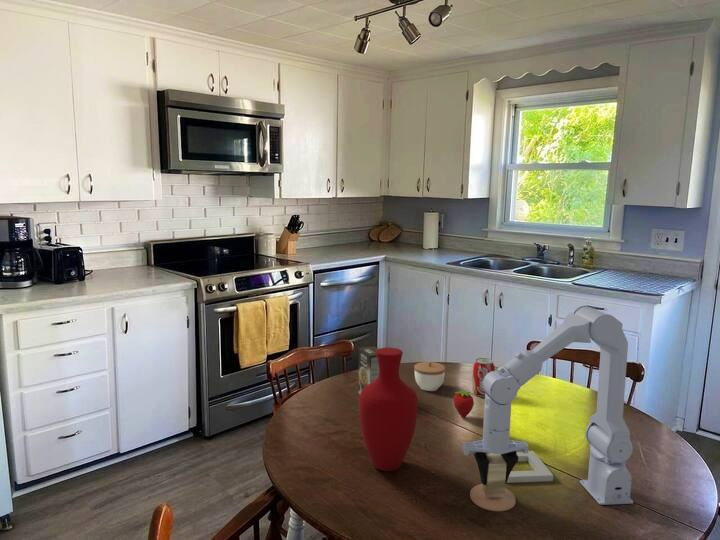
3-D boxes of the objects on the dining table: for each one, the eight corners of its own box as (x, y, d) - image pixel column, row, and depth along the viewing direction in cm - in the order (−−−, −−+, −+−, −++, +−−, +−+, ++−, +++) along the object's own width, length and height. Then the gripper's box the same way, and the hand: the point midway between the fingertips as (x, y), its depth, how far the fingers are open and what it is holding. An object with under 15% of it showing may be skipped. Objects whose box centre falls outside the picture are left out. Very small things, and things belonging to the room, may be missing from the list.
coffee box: (357, 393, 181) (357, 347, 179) (374, 390, 184) (375, 345, 181) (368, 403, 173) (369, 355, 171) (386, 400, 176) (387, 353, 173)
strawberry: (457, 424, 159) (458, 392, 157) (449, 413, 166) (450, 382, 165) (476, 423, 160) (478, 391, 158) (467, 412, 167) (469, 382, 166)
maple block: (504, 496, 119) (506, 463, 118) (487, 497, 119) (488, 464, 118) (498, 486, 123) (500, 454, 122) (481, 487, 123) (483, 455, 122)
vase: (349, 456, 139) (350, 345, 135) (401, 447, 145) (403, 339, 140) (370, 485, 126) (372, 363, 121) (426, 474, 131) (430, 356, 126)
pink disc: (522, 510, 117) (522, 508, 117) (477, 512, 116) (477, 509, 116) (506, 485, 127) (506, 482, 127) (464, 486, 126) (464, 484, 126)
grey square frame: (553, 481, 129) (553, 475, 129) (504, 482, 128) (504, 477, 127) (532, 456, 141) (533, 450, 140) (488, 457, 139) (488, 452, 139)
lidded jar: (449, 386, 189) (450, 360, 187) (436, 396, 180) (437, 369, 178) (421, 380, 195) (422, 355, 193) (408, 389, 186) (409, 363, 184)
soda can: (471, 397, 180) (472, 362, 178) (473, 389, 186) (474, 356, 184) (492, 399, 178) (494, 365, 176) (493, 392, 184) (495, 358, 182)
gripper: (521, 417, 123) (517, 471, 125) (459, 418, 122) (457, 473, 124) (533, 430, 116) (529, 488, 118) (468, 432, 115) (465, 491, 117)
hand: (493, 482), depth 121 cm, fingers closed on maple block, 4 cm apart
